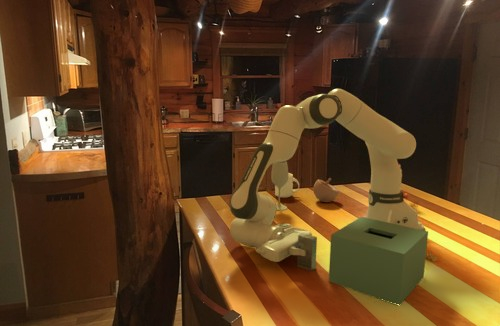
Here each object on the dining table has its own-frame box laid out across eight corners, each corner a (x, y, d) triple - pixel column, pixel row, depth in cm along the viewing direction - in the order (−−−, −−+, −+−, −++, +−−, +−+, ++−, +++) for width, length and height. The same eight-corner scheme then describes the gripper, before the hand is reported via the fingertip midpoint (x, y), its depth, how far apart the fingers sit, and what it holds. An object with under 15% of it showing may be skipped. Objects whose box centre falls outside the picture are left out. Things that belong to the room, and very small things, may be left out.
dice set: (436, 263, 127) (436, 257, 127) (418, 261, 129) (419, 255, 129) (434, 257, 132) (435, 251, 132) (417, 254, 134) (418, 249, 133)
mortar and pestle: (341, 205, 185) (342, 181, 183) (314, 205, 185) (315, 181, 183) (335, 198, 197) (337, 175, 194) (311, 197, 197) (312, 175, 194)
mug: (297, 199, 195) (298, 177, 192) (273, 197, 198) (273, 175, 196) (300, 194, 203) (301, 173, 201) (277, 192, 206) (277, 172, 204)
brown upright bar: (297, 266, 123) (298, 235, 122) (301, 263, 125) (302, 233, 123) (311, 271, 120) (312, 239, 118) (315, 268, 122) (316, 237, 120)
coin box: (328, 281, 114) (331, 234, 111) (358, 258, 129) (361, 216, 127) (399, 306, 102) (404, 254, 99) (423, 277, 117) (428, 231, 114)
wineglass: (290, 207, 182) (291, 161, 178) (282, 211, 176) (283, 164, 171) (275, 204, 186) (276, 159, 182) (267, 208, 180) (268, 162, 175)
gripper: (252, 240, 121) (290, 252, 113) (289, 222, 137) (326, 231, 128) (252, 259, 122) (290, 273, 114) (289, 239, 138) (325, 250, 130)
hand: (309, 250), depth 121 cm, fingers closed on brown upright bar, 2 cm apart
